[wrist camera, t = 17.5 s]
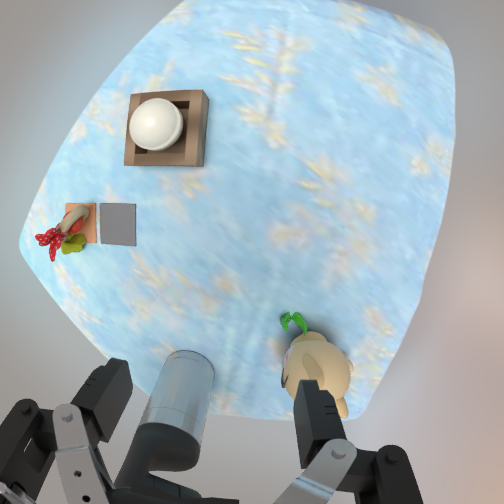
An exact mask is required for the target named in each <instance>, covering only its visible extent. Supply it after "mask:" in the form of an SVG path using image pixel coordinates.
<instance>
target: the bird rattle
mask: <svg viewBox="0 0 504 504" xmlns="http://www.w3.org/2000/svg"><path fill="white" fill-rule="evenodd" d="M88 216H89V210H88V208H87V207H86V206H85V205H84V204H81V205H79V206H77V207H75V208H74V209H73V210H72V211H69V212H68V213H66V214H65V216H64V218H63V220H62V221H61V223H59V224H58V225H57V226H56V228H51V229H49V230H48V231H47V232H46V233H45V234H37V235H36V236H35V238H36V240H38V241H39V245H40V246H47V245H48V244H50V243H51V244H50V249H49V254H50V259H51V261H52V262H53V261H54V260H55V254H56V250H57V249H59V248H60V247H61V249H62V253H63V254H69V253H71V252H80V251H82V246H83V244H85V243H86V238H85V236H84V235H81V234H74V233H77V232H79V231H80V230H81V229H82V227H83V224H84V220H85V219H86V218H87V217H88Z"/></svg>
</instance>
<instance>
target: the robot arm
mask: <svg viewBox="0 0 504 504" xmlns="http://www.w3.org/2000/svg"><path fill="white" fill-rule="evenodd" d="M213 379H214V369H213V367H212V365H211V363H210V362H209V361H208V360H207V359H206V358H204V357H203V356H201V355H200V354H197V353H195V352H191V351H178V352H175V353H173V354H171V355H170V356H169V357H168V358H167V360H166V362H165V365H164V367H163V369H162V371H161V373H160V376H159V378H158V380H157V382H156V385H155V387H154V389H153V392H152V394H151V396H150V399H149V402H148V404H147V406H146V408H145V411H144V413H143V416H142V418H141V420H140V423H139V425H138V428H137V430H136V433H135V436H134V438H133V441H132V444H131V446H130V449H129V451H128V454H127V456H126V459H125V461H124V463H123V465H122V467H121V469H120V471H119V474H118V476H117V478H116V480H115V482H114V484H113V482H112V481H111V479H110V477H109V474H108V472H107V469H106V467H105V464H104V461H103V459H102V456H101V453H100V451H99V448H98V446H97V445H98V443H99V441H103V442H107V443H108V442H109V440H110V438H111V435H112V434H113V431H114V429H115V427H116V425H117V423H118V421H119V419H120V417H121V415H122V413H123V411H124V409H125V406H126V405H127V402H128V401H129V399H130V397H131V394H132V389H133V384H132V380H131V375H130V371H129V366H128V362H127V361H126V360H121V359H116V358H111V359H110V360H109V361H108V363H107V364H106V365H105V366H102V365H101V366H99V367H98V368H96V369H95V370H94V371H93V372H92V373H91V375H90V376H89V378H88V379H87V380H86V381H85V384H83V386H82V387H81V388H80V390H79V391H78V393H77V394H76V396H75V397H74V398H73V400H72V402H71V403H70V404H62V405H60V406H58V407H56V409H55V410H47V409H40V408H39V407H38V405H37V403H36V402H35V401H33V400H31V399H22V400H20V401H18V402H17V403H16V404H15V406H14V407H13V408H12V410H11V411H10V413H9V414H8V415H7V417H6V418H5V420H4V421H3V422H2V424H1V426H0V504H36V503H35V501H36V499H37V497H38V494H39V492H40V489H41V487H42V485H43V483H44V480H45V478H46V476H47V474H48V472H49V469H50V467H51V465H52V463H53V461H54V459H55V457H56V461H57V465H58V470H59V474H60V477H61V481H62V484H63V488H64V492H65V495H66V498H67V501H68V504H239V500H236V499H223V498H213V497H211V498H202V497H201V495H200V494H199V493H198V492H197V491H195V490H193V489H190V488H187V487H184V486H182V485H179V484H176V483H173V482H170V481H168V480H165V479H162V478H160V477H157V476H154V475H152V474H150V473H149V471H173V472H177V471H186V470H189V469H191V468H193V467H194V466H195V465H196V464H197V462H198V459H199V454H200V448H201V442H202V437H203V431H204V426H205V421H206V414H207V410H208V405H209V399H210V394H211V389H212V384H213ZM294 420H295V427H296V434H297V442H298V449H299V457H300V464H301V469H306V470H305V471H304V472H303V473H302V474H301V476H300V477H299V478H296V479H295V480H294V481H293V482H292V483H291V484H290V485H289V487H288V488H287V489H286V490H285V491H284V492H283V493H282V495H280V497H279V498H278V499H277V500H276V501H275V502H274V503H273V504H327V502H328V501H329V499H330V498H331V497H332V495H333V493H334V491H335V490H336V491H344V492H352V493H354V496H355V502H356V504H423V500H422V497H421V494H420V491H419V488H418V485H417V482H416V479H415V476H414V473H413V470H412V467H411V465H410V462H409V459H408V456H407V454H406V452H405V451H404V450H403V449H402V448H401V447H399V446H396V445H386V446H384V447H382V448H380V449H379V451H378V452H376V451H366V450H360V449H357V448H356V447H355V446H354V445H353V444H352V443H351V442H350V441H348V440H347V438H346V435H345V432H344V429H343V425H342V422H341V419H340V415H339V414H338V409H337V407H336V403H335V399H334V397H333V396H332V395H331V394H330V392H329V391H328V390H320V389H319V385H318V382H317V380H316V379H301V380H300V381H299V384H298V388H297V393H296V397H295V401H294ZM30 439H31V441H30ZM29 441H30V443H29V445H28V446H27V444H28V442H29ZM26 446H27V448H26V450H25V452H24V449H25V447H26Z"/></svg>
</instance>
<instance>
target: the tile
mask: <svg viewBox="0 0 504 504" xmlns="http://www.w3.org/2000/svg"><path fill="white" fill-rule="evenodd" d="M81 204H84V205H85V206H86V207H87V208H88V210H89V216H88V217H87V218H86V219H85V220H84V224H83V227H82V229H81V230H80V231H79V232H77V233H74V234H81V235H84V236H85V238H86V243H97V234H96V203H66V204H65V210H66V213H68V212H69V211H72V210H73V209H74V208H75V207H77V206H79V205H81Z"/></svg>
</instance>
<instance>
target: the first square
mask: <svg viewBox="0 0 504 504" xmlns="http://www.w3.org/2000/svg"><path fill="white" fill-rule="evenodd" d="M100 235H101V244H112V245H125V246H136V204H106V203H100Z"/></svg>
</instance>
